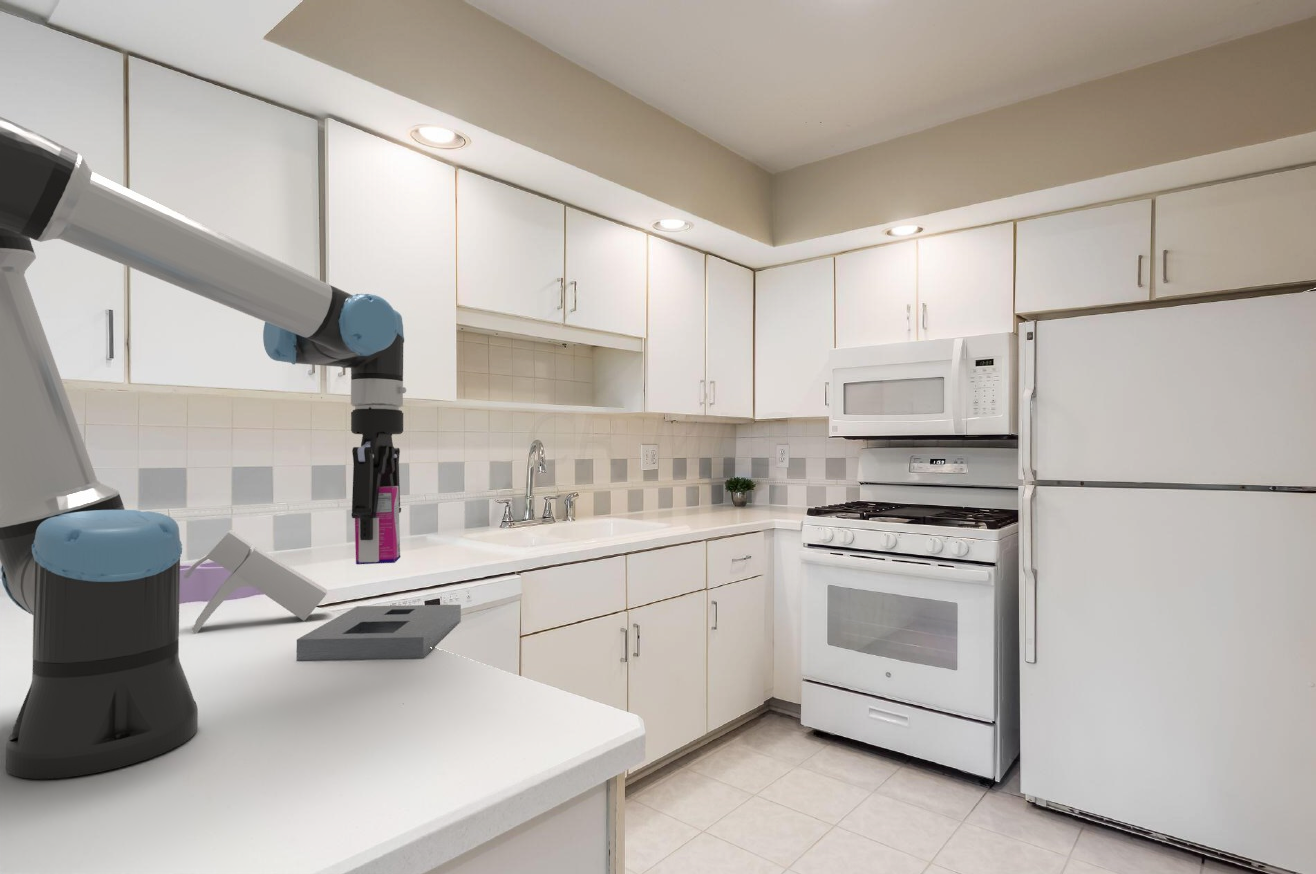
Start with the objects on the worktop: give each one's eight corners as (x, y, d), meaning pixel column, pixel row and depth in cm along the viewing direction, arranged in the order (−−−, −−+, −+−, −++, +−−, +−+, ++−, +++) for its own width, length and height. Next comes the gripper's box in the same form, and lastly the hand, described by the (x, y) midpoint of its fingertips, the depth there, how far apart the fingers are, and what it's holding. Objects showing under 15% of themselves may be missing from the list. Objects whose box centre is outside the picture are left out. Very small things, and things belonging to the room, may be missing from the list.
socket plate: (423, 658, 100) (423, 637, 100) (296, 660, 99) (296, 639, 99) (460, 621, 122) (460, 604, 122) (357, 623, 121) (357, 606, 121)
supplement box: (361, 559, 109) (361, 486, 109) (401, 557, 110) (401, 485, 110) (353, 565, 103) (353, 488, 103) (395, 563, 104) (395, 487, 105)
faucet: (328, 592, 125) (227, 527, 117) (261, 672, 119) (152, 609, 112) (325, 587, 130) (229, 524, 123) (262, 663, 125) (158, 602, 118)
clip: (152, 609, 135) (153, 573, 135) (152, 599, 145) (152, 566, 145) (269, 596, 147) (269, 563, 147) (261, 587, 157) (261, 557, 157)
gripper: (379, 404, 98) (379, 568, 97) (420, 412, 117) (421, 549, 116) (325, 404, 97) (325, 569, 97) (375, 412, 117) (375, 550, 116)
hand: (377, 558), depth 106 cm, fingers closed on supplement box, 6 cm apart
